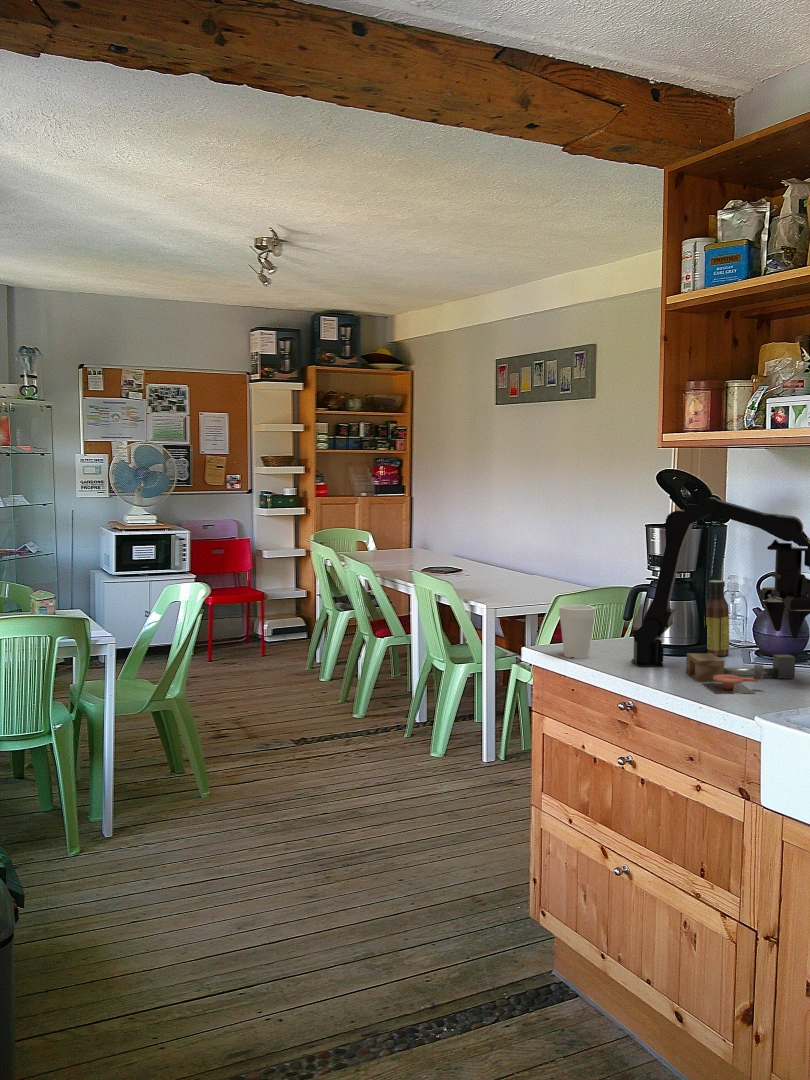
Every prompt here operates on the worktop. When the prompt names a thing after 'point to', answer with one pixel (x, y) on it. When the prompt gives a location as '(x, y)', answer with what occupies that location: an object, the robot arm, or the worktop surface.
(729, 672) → the bolt
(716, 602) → the sauce bottle
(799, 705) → the worktop surface
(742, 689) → the brown square plate
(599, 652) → the worktop surface
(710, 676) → the eye block
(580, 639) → the foam cup
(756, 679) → the handwheel
